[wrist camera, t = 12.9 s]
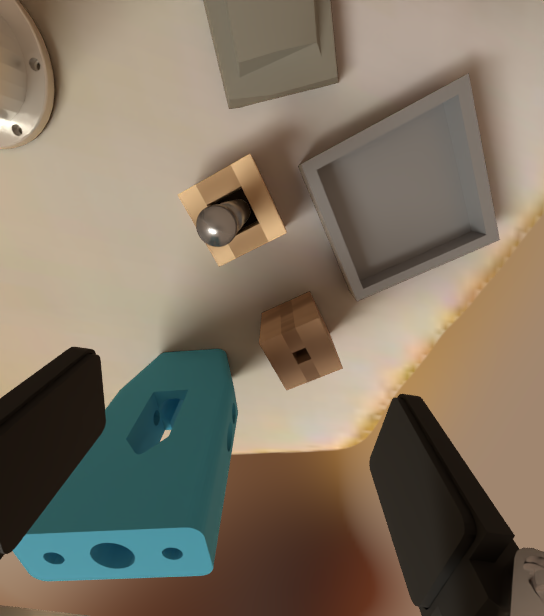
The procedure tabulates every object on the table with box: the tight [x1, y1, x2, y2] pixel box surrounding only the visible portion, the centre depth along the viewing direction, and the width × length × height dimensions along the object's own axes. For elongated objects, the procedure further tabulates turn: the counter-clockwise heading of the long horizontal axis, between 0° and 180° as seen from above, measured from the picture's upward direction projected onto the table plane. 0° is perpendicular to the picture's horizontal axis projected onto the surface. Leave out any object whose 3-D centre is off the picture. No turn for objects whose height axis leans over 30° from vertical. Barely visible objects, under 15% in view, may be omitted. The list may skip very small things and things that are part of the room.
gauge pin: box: [196, 199, 250, 247], centre depth 23 cm, size 2×2×12 cm
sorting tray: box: [298, 73, 500, 301], centre depth 27 cm, size 14×14×3 cm
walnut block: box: [259, 291, 343, 390], centre depth 30 cm, size 6×6×7 cm
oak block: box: [178, 154, 287, 267], centre depth 27 cm, size 7×7×4 cm
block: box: [13, 349, 238, 581], centre depth 27 cm, size 12×5×20 cm, turn 95°
